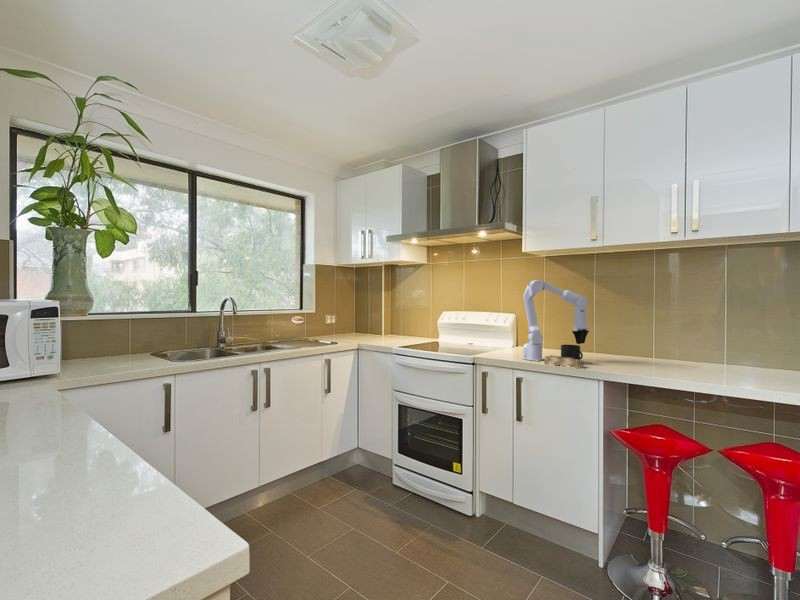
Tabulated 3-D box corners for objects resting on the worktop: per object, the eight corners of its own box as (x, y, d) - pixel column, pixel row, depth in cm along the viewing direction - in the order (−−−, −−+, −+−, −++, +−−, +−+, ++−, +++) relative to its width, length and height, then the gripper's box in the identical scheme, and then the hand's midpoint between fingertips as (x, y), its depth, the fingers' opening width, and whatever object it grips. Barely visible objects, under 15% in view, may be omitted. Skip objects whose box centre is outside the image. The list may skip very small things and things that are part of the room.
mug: (576, 365, 203) (576, 347, 203) (556, 362, 214) (557, 345, 214) (588, 364, 208) (588, 346, 208) (568, 360, 218) (568, 344, 218)
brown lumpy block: (544, 364, 207) (544, 355, 207) (550, 362, 212) (550, 353, 212) (577, 368, 195) (577, 359, 195) (583, 366, 200) (583, 357, 200)
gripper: (582, 319, 209) (582, 345, 210) (593, 318, 219) (593, 343, 220) (569, 318, 215) (569, 344, 215) (580, 317, 225) (580, 342, 225)
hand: (580, 343), depth 217 cm, fingers open, 4 cm apart
